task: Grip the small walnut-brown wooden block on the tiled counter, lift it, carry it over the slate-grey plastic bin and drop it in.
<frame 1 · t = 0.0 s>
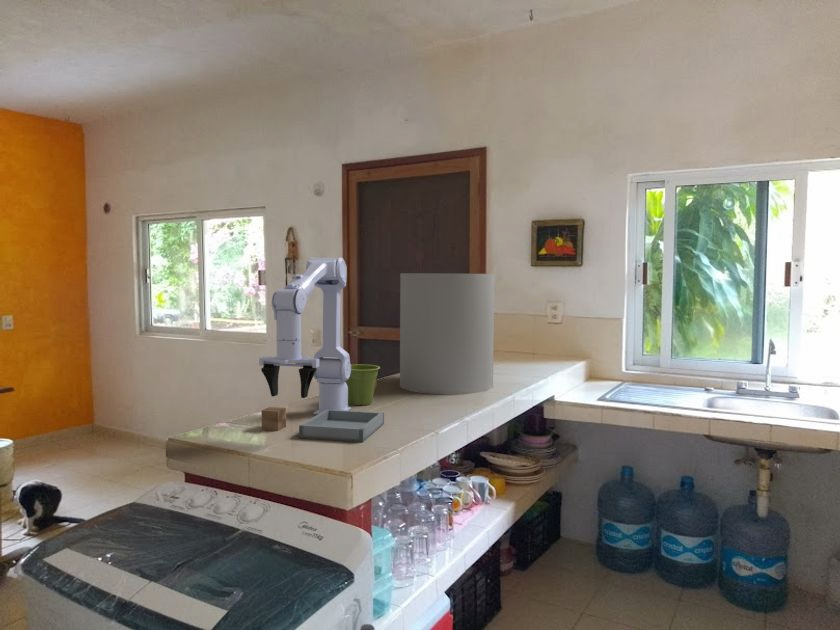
hand: (289, 396, 142), 10 cm above the counter, fingers open, 7 cm apart
cylinder container: (445, 385, 215), on the counter
bin: (343, 430, 150), on the counter
block: (274, 428, 152), on the counter
tin: (356, 394, 198), on the counter
plant pot: (360, 404, 183), on the counter
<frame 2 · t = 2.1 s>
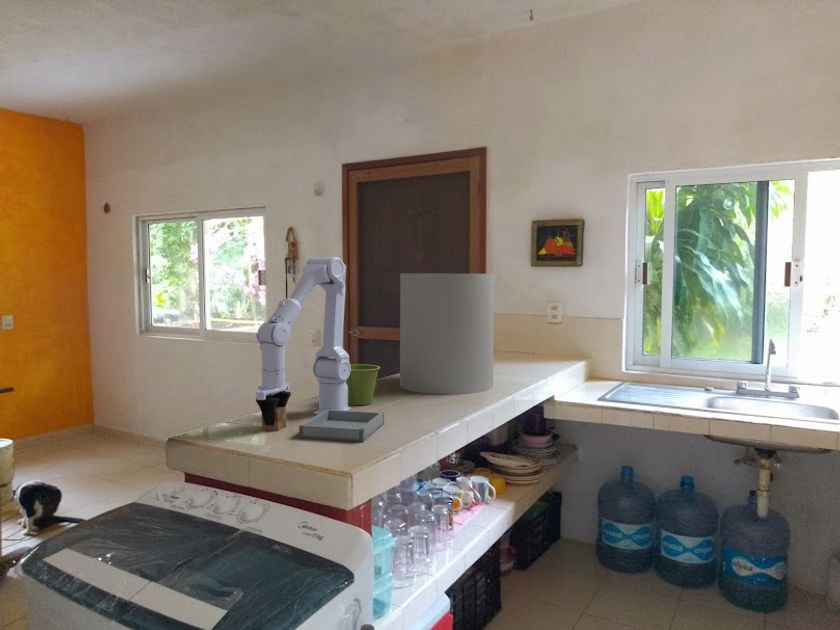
hand: (273, 422, 152), 1 cm above the counter, fingers closed on block, 4 cm apart
block: (273, 428, 152), on the counter, touching gripper
everything else where it was.
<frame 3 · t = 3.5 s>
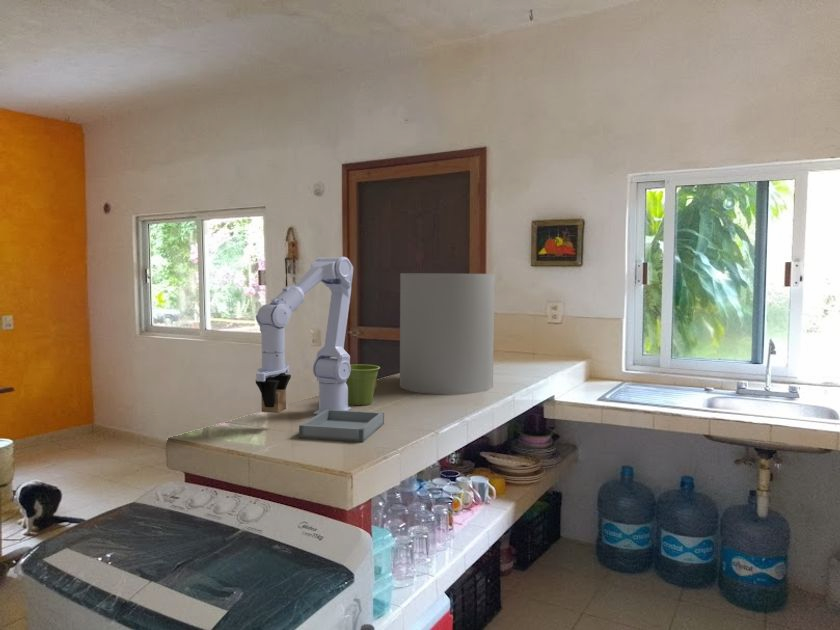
hand: (273, 404, 152), 6 cm above the counter, fingers closed on block, 4 cm apart
block: (273, 410, 152), point 5 cm above the counter, touching gripper
everything else where it was.
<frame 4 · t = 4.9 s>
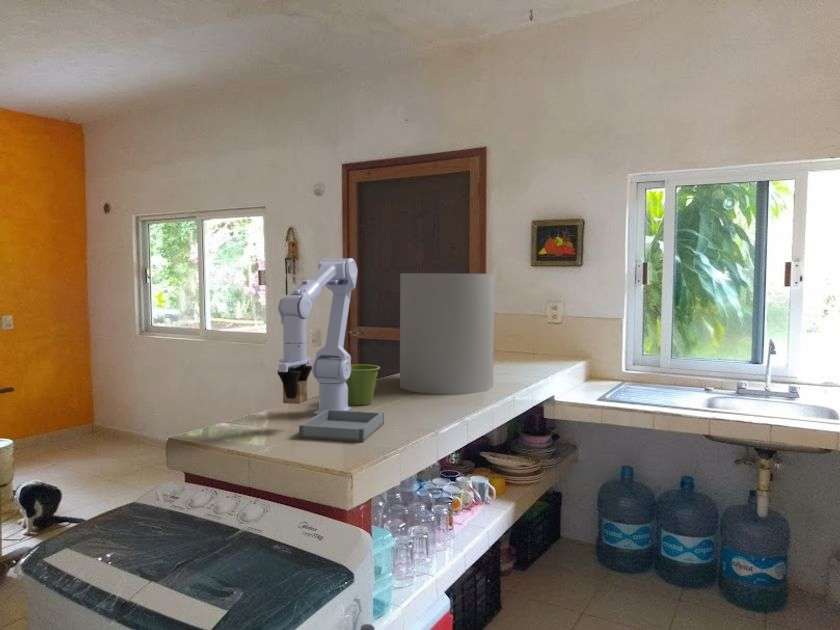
hand: (295, 396, 151), 8 cm above the counter, fingers closed on block, 4 cm apart
block: (295, 401, 151), point 7 cm above the counter, touching gripper
everything else where it was.
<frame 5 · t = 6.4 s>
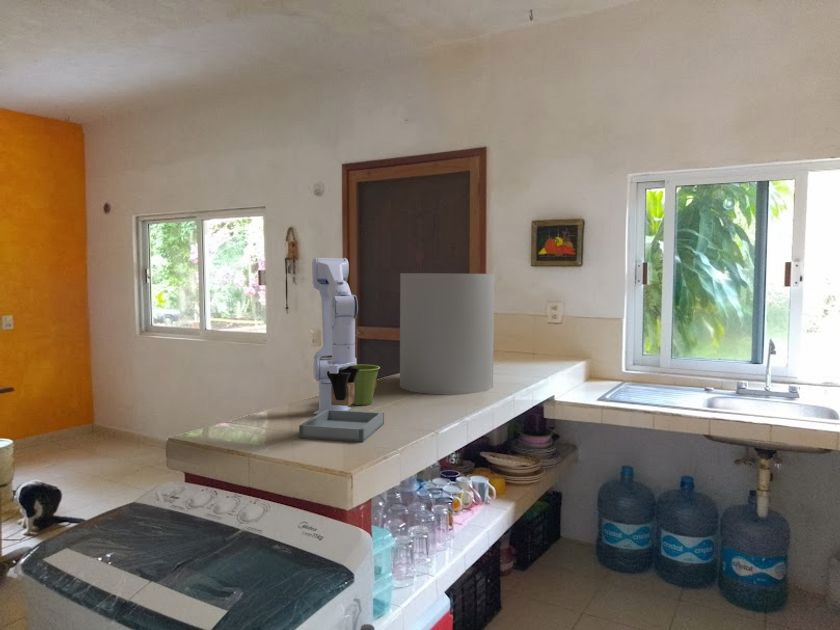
hand: (343, 397, 150), 8 cm above the counter, fingers closed on block, 4 cm apart
block: (343, 403, 150), point 7 cm above the counter, touching gripper
everything else where it was.
when the fingers open (4 cm above the counter, at t = 7.8 s): block drops 2 cm, resting on bin.
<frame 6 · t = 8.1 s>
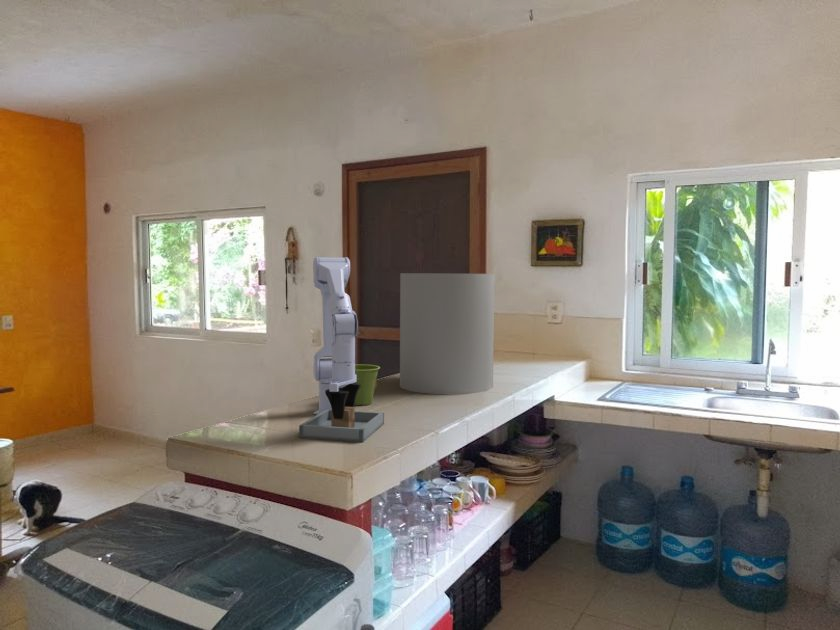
hand: (343, 415, 150), 4 cm above the counter, fingers open, 7 cm apart
block: (343, 428, 150), point 1 cm above the counter, touching bin
everything else where it was.
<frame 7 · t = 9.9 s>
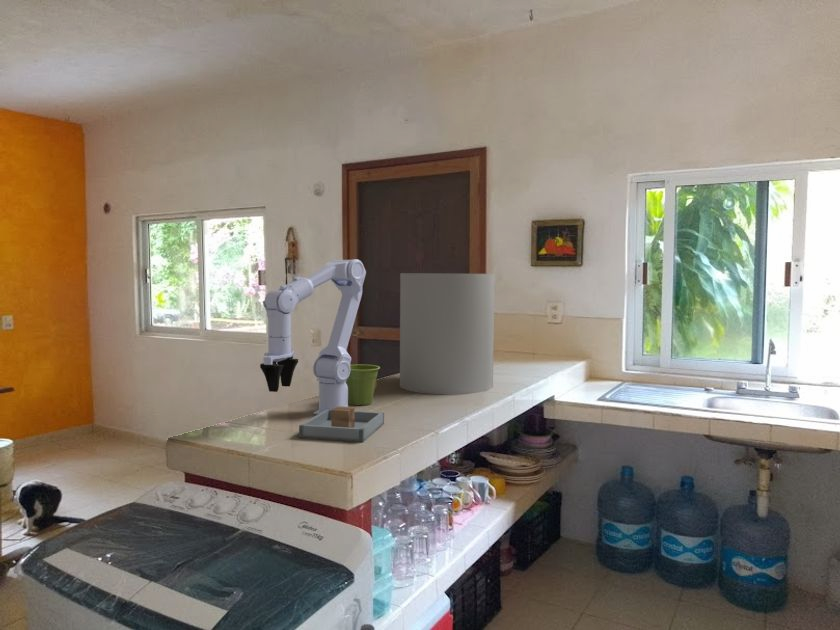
hand: (279, 388, 155), 9 cm above the counter, fingers open, 7 cm apart
nothing on the counter moved.
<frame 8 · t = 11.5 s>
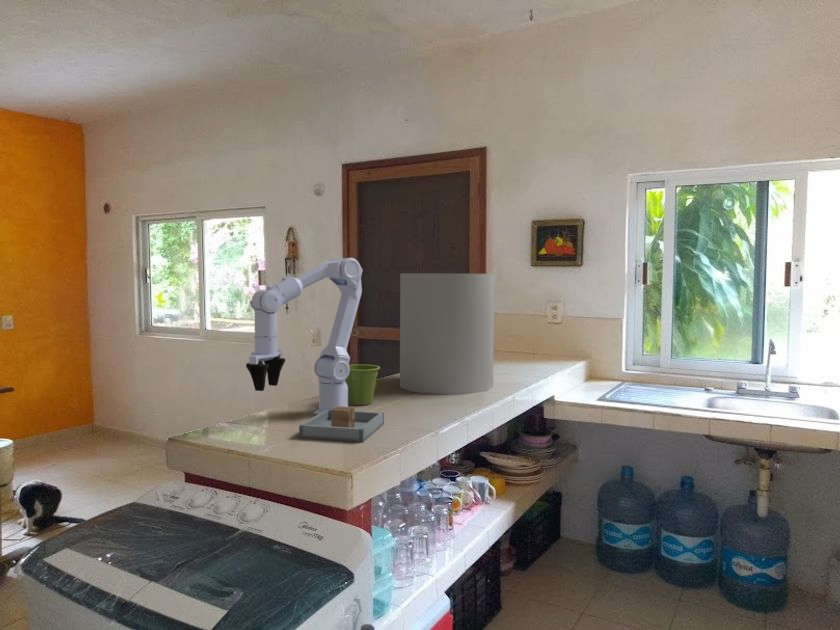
hand: (266, 387, 156), 9 cm above the counter, fingers open, 7 cm apart
nothing on the counter moved.
at the end: block inside the target area on the bin (0.1 cm from its centre), point 0.6 cm above the bin's base; block tilted 0°; the gripper is holding nothing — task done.
